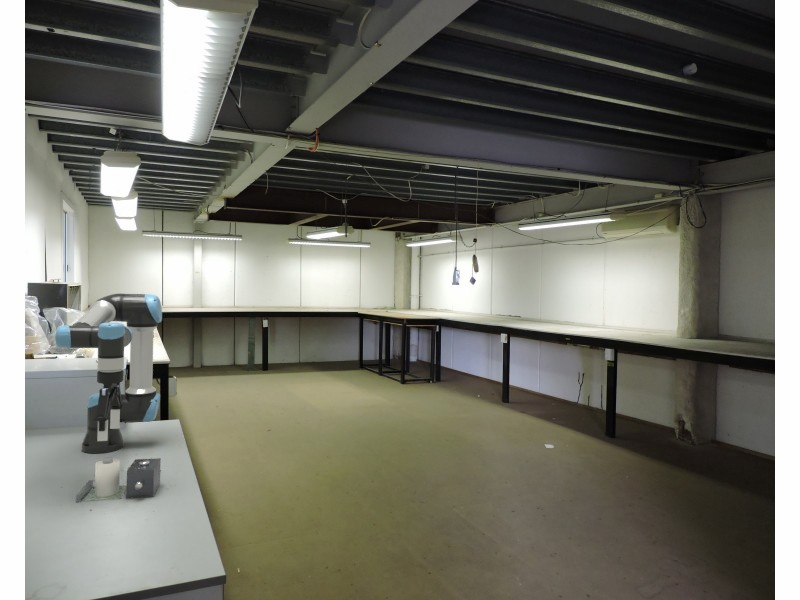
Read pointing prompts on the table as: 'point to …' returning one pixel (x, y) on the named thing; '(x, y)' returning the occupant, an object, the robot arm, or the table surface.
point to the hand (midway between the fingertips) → (108, 434)
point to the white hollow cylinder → (107, 477)
